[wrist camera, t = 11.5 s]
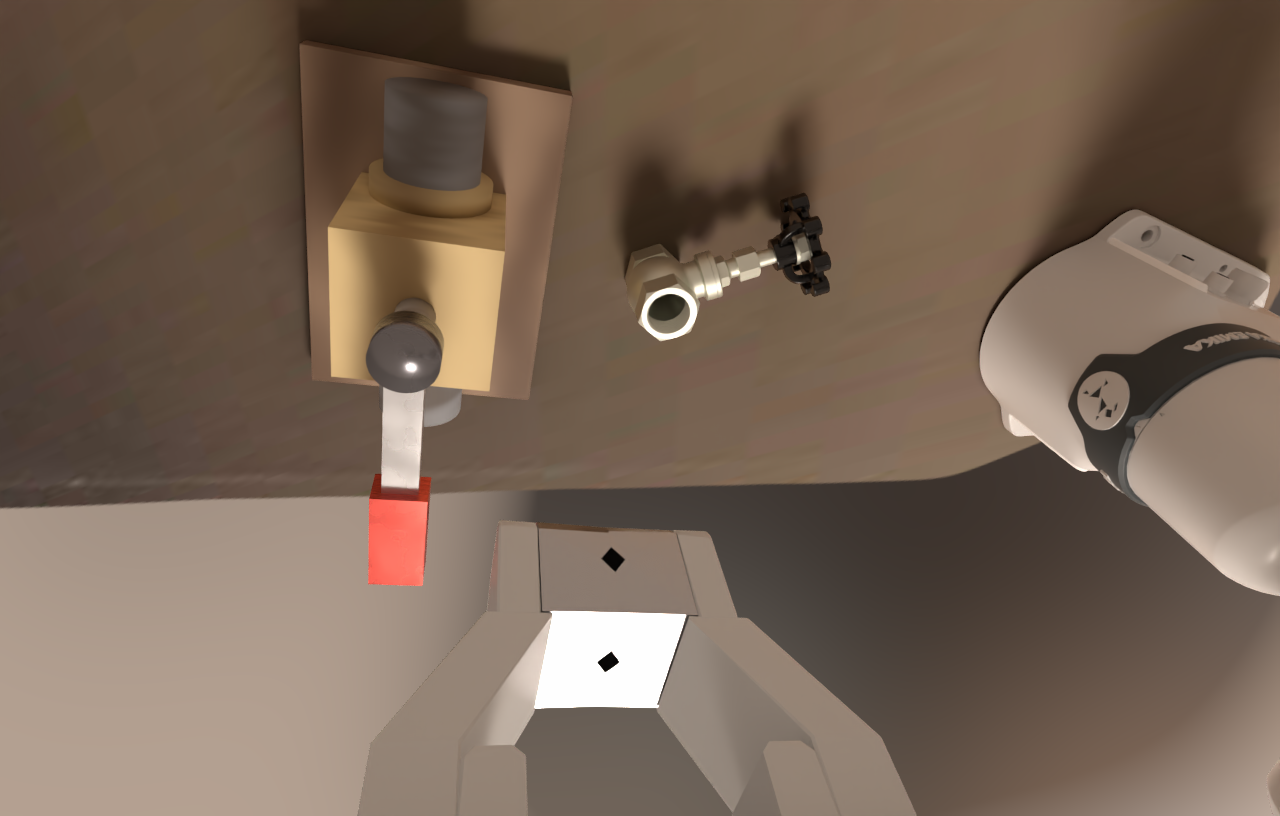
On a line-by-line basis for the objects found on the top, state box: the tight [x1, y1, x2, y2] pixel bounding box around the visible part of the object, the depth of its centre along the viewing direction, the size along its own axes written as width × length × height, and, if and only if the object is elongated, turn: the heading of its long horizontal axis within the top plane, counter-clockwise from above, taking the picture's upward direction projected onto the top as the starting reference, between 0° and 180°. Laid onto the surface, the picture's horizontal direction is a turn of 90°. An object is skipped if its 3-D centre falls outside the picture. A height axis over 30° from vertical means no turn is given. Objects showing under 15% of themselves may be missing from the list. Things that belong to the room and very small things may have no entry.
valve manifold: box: [299, 40, 573, 427], centre depth 40 cm, size 14×20×13 cm
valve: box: [625, 193, 831, 341], centre depth 45 cm, size 7×7×12 cm
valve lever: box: [366, 311, 444, 586], centre depth 36 cm, size 16×3×2 cm, turn 169°
